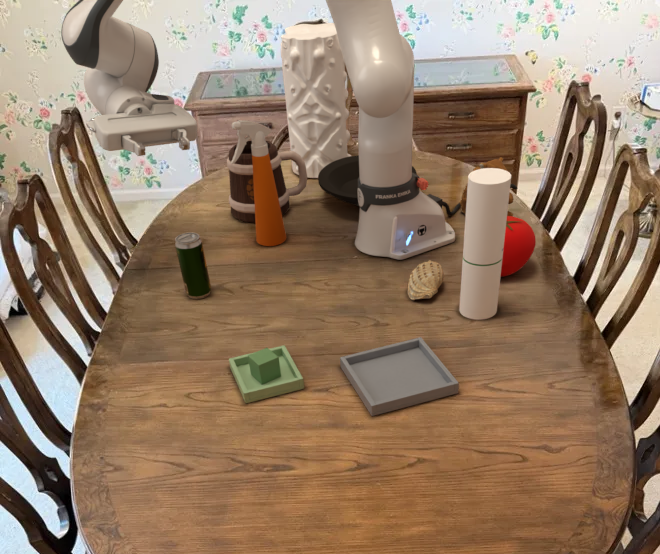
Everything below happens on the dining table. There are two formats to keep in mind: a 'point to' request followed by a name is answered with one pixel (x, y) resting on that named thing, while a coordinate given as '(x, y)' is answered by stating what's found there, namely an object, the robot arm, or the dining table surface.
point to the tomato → (517, 245)
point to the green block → (264, 365)
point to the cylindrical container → (484, 241)
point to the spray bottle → (261, 183)
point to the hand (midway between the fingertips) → (164, 149)
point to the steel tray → (398, 376)
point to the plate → (342, 179)
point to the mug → (244, 186)
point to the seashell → (425, 280)
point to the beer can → (193, 265)
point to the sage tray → (278, 386)
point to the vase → (315, 95)
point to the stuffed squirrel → (490, 164)
